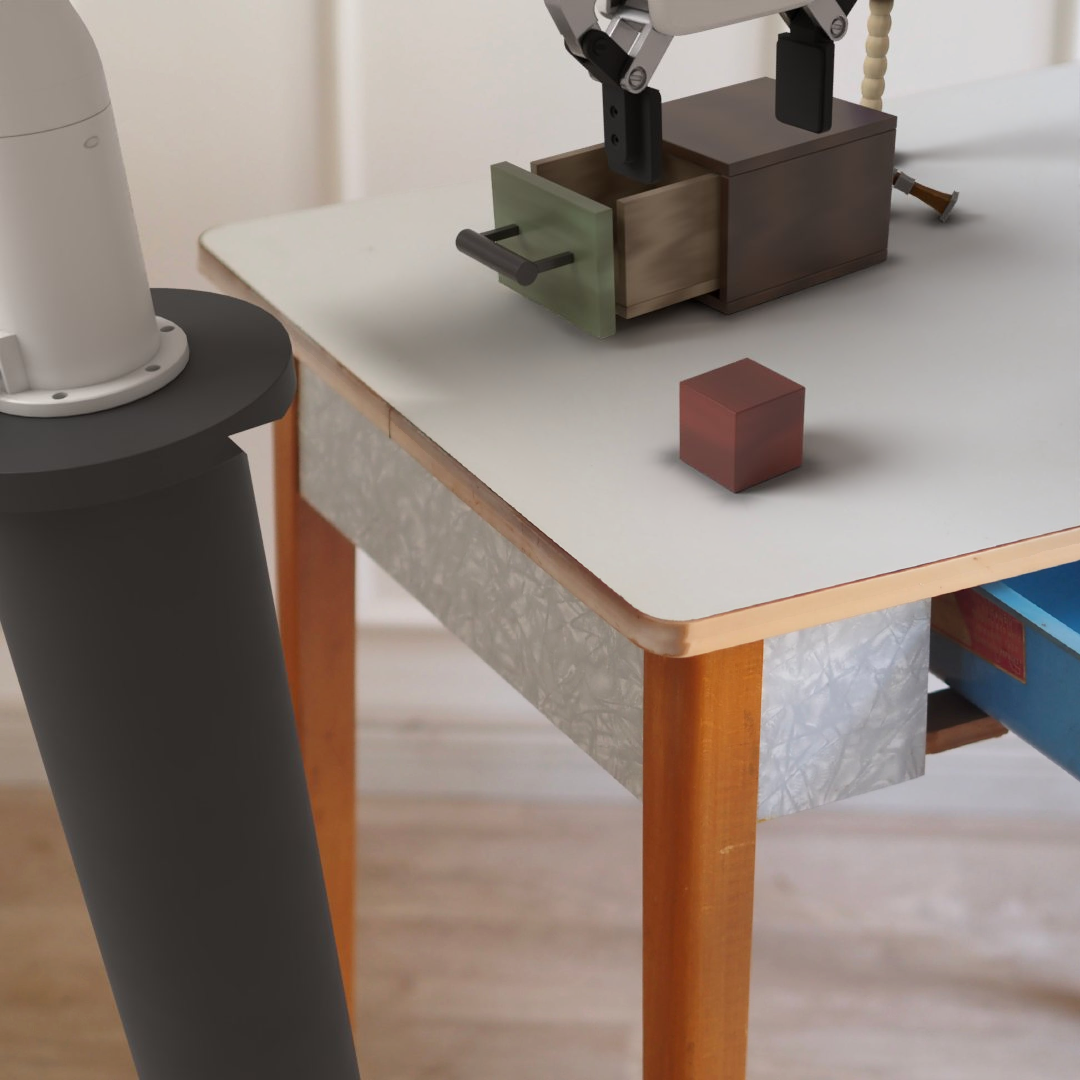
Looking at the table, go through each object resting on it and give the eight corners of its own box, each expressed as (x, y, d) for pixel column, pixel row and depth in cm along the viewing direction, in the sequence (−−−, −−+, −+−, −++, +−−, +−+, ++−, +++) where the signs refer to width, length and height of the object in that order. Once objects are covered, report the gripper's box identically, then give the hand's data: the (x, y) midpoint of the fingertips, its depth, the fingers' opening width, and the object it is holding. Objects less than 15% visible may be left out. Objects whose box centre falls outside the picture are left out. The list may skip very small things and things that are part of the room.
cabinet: (727, 315, 93) (729, 164, 88) (608, 257, 102) (604, 117, 97) (887, 260, 99) (897, 115, 94) (762, 210, 108) (765, 76, 103)
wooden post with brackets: (828, 194, 107) (857, 138, 105) (928, 244, 107) (961, 189, 104) (824, 202, 106) (854, 146, 103) (926, 253, 106) (958, 198, 103)
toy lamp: (893, 149, 118) (910, -77, 109) (908, 168, 114) (927, -64, 105) (832, 153, 118) (844, -72, 109) (846, 172, 114) (859, -60, 105)
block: (734, 493, 75) (735, 413, 72) (678, 459, 78) (678, 381, 76) (802, 465, 77) (806, 386, 74) (745, 433, 80) (747, 356, 78)
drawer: (541, 359, 87) (534, 231, 83) (443, 299, 95) (431, 179, 91) (762, 285, 94) (765, 164, 90) (652, 235, 103) (651, 122, 98)
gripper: (820, -303, 65) (808, 94, 74) (482, -261, 57) (515, 176, 66) (951, -302, 59) (921, 126, 68) (596, -256, 52) (615, 219, 61)
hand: (721, 150), depth 67 cm, fingers open, 9 cm apart
